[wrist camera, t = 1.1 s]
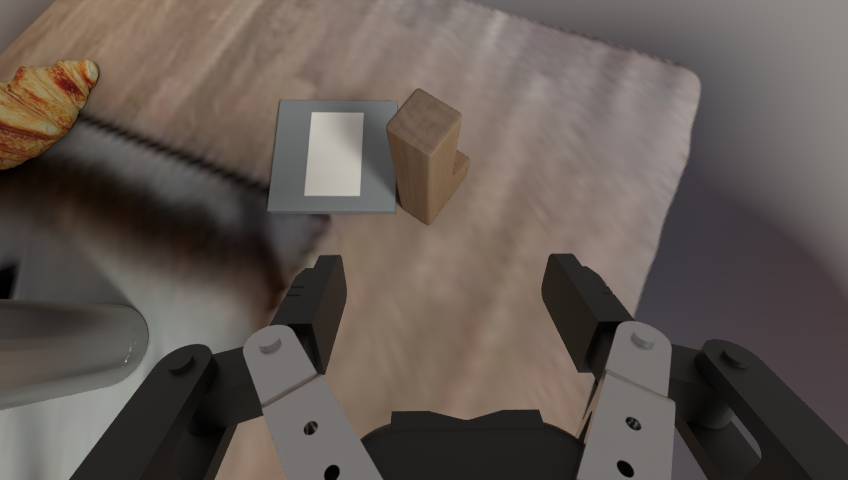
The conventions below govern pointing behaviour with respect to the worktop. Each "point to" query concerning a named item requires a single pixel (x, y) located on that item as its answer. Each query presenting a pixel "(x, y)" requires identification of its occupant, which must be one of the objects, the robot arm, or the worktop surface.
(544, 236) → the worktop surface
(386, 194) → the socket board
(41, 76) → the croissant
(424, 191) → the wooden block
